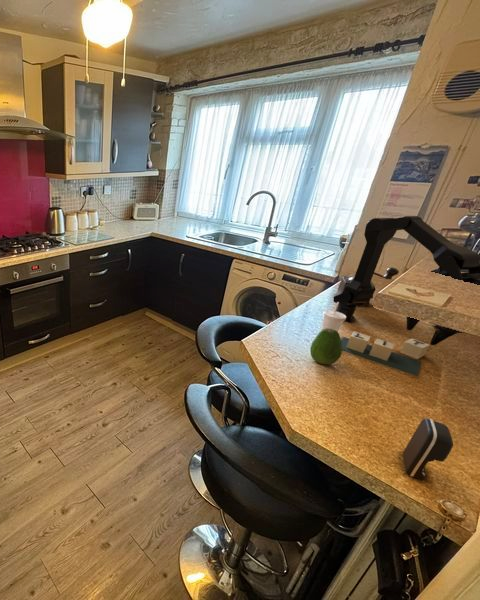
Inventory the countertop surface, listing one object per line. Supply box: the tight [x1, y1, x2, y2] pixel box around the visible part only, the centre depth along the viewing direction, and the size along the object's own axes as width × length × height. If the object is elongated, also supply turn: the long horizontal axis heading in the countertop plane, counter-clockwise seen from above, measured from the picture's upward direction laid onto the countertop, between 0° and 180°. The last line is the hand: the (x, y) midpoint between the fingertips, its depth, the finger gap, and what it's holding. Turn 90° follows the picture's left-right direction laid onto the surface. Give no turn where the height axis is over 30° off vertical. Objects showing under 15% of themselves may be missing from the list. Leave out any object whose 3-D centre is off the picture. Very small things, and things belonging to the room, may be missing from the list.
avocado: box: [310, 328, 343, 365], centre depth 99 cm, size 8×8×12 cm
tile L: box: [347, 331, 371, 353], centre depth 107 cm, size 4×4×5 cm
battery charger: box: [402, 417, 454, 480], centre depth 65 cm, size 7×4×11 cm, turn 142°
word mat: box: [341, 336, 422, 377], centre depth 104 cm, size 11×20×1 cm, turn 42°
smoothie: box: [320, 302, 346, 333], centre depth 111 cm, size 6×6×14 cm
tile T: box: [399, 338, 430, 360], centre depth 104 cm, size 4×4×5 cm
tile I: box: [369, 338, 395, 361], centre depth 103 cm, size 4×4×5 cm
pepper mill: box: [335, 267, 400, 308], centre depth 138 cm, size 16×11×18 cm
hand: (420, 337), depth 102 cm, fingers open, 9 cm apart
